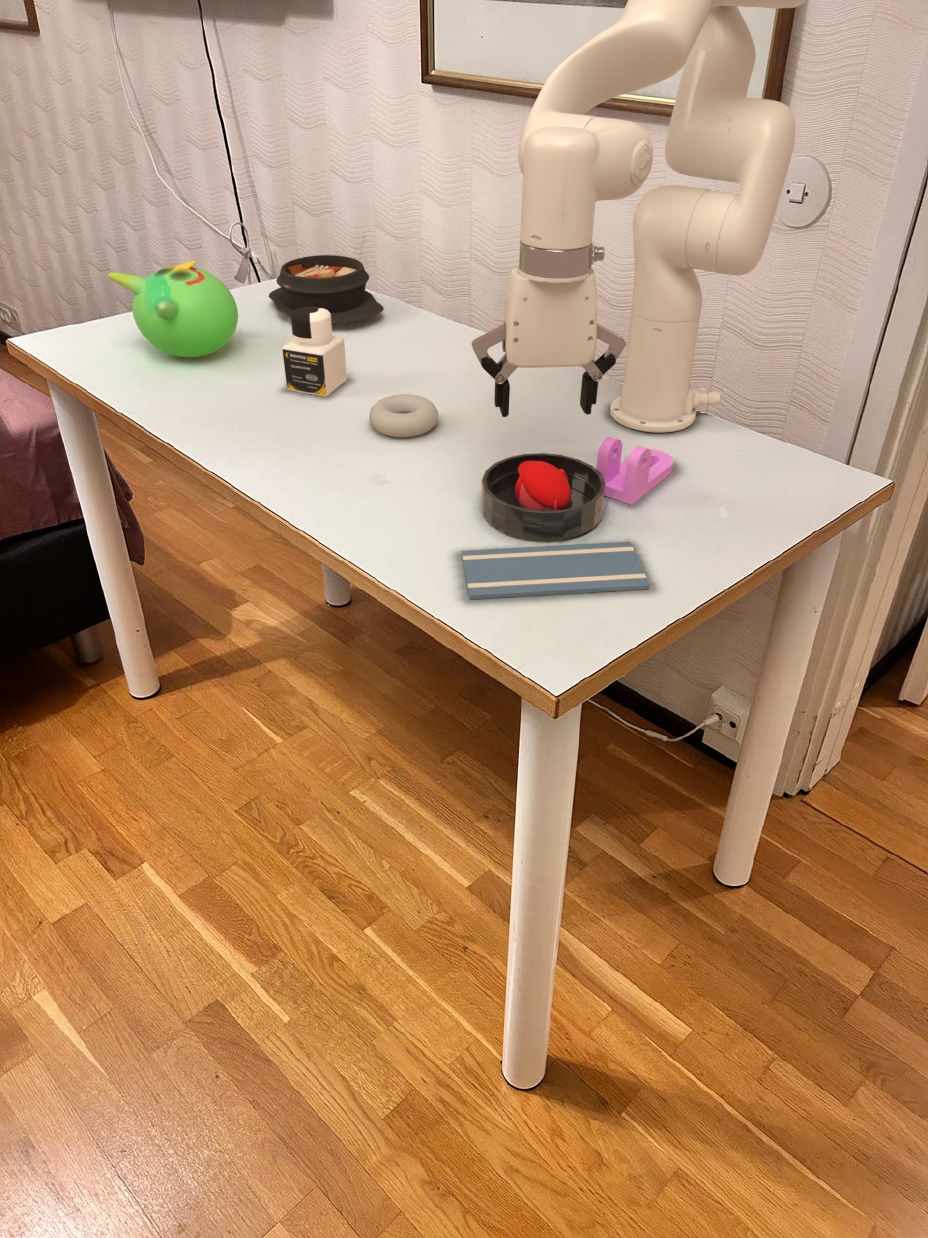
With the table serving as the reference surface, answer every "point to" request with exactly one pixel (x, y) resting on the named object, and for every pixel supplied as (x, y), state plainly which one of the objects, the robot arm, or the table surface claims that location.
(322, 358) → the medicine bottle
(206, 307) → the toy bird
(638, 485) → the bracket
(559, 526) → the bowl
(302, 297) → the casserole
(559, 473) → the red rounded lobed piece
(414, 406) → the donut
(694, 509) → the table surface
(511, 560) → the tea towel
